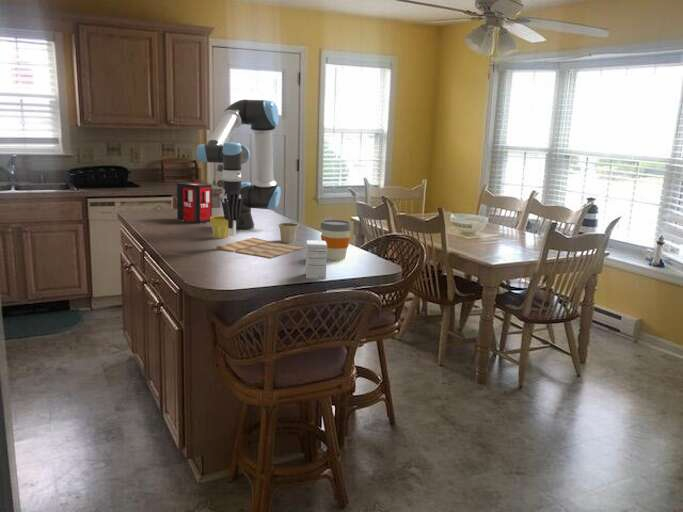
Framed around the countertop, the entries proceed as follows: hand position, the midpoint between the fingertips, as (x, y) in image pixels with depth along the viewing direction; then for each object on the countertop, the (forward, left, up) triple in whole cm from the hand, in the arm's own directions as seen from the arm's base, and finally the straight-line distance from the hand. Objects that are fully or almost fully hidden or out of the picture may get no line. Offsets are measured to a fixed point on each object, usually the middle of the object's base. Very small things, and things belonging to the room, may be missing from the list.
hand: (232, 235), depth 252 cm
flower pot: (-27, +11, -6) cm, 30 cm away
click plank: (-6, +1, -6) cm, 9 cm away
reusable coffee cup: (-13, +43, -6) cm, 45 cm away
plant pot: (-16, -19, -6) cm, 26 cm away
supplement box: (+18, +52, -6) cm, 55 cm away
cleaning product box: (-44, -60, -6) cm, 75 cm away
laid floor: (-6, +16, -6) cm, 18 cm away
